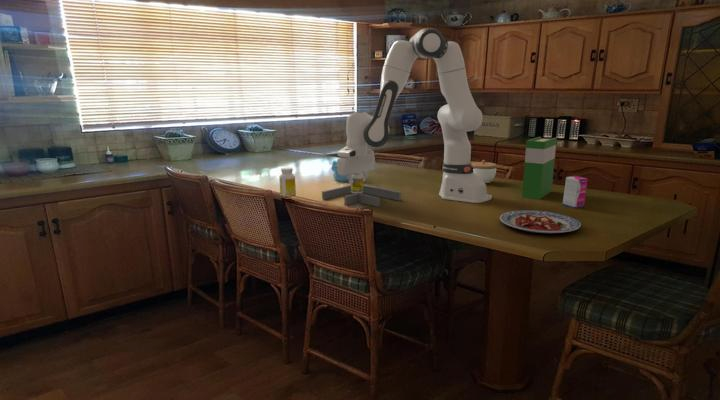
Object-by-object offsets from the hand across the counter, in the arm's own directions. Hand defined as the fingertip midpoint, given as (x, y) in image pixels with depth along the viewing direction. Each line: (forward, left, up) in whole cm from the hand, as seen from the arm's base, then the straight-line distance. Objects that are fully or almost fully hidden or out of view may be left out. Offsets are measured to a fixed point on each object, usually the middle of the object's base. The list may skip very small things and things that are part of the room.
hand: (357, 182), depth 202 cm
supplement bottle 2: (0, 0, -4) cm, 4 cm away
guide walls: (-5, +3, -6) cm, 9 cm away
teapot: (+29, -23, -6) cm, 38 cm away
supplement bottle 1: (+20, +22, -6) cm, 30 cm away
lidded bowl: (-25, -62, -6) cm, 67 cm away
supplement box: (-74, -46, -6) cm, 88 cm away
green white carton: (-55, -56, -6) cm, 79 cm away
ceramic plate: (-75, -11, -7) cm, 76 cm away
